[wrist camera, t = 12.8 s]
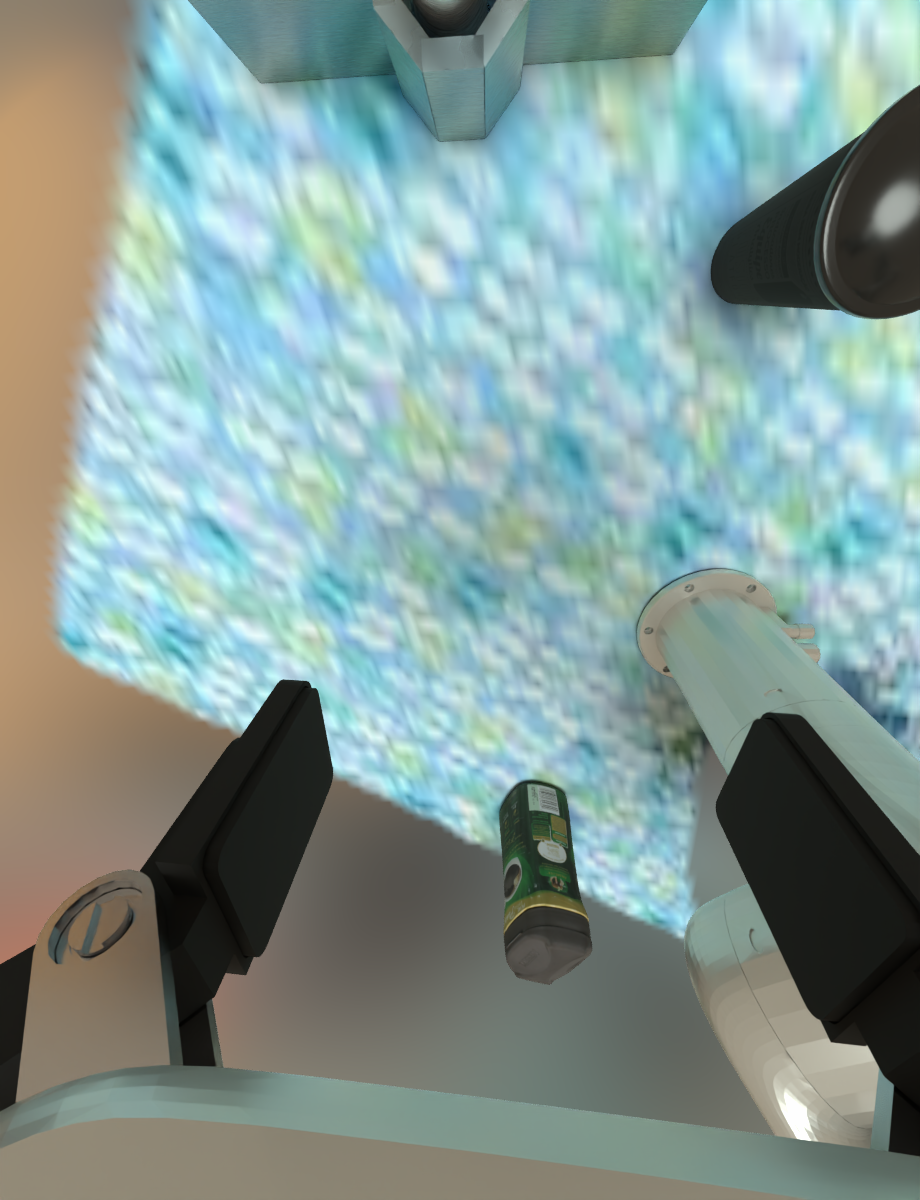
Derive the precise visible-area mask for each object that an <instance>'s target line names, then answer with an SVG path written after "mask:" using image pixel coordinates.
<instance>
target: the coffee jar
mask: <svg viewBox="0 0 920 1200" xmlns="http://www.w3.org/2000/svg"><path fill="white" fill-rule="evenodd" d="M499 818H500V833H501V845H502V858H503V874H504V891H505V916H504V943H505V952H506V960H507V963H508V965H509V967H510V968H511V969H512V971H513V972H514V973H515V975H516V976H517V977H518V978H522V979H525V980H529V981H534V982H538V983H543V984H548V985H550V984H551V983H552V982H553V981H554V980H556V979H558V978H560V977H562V976H564V975H565V974H567V973H569V972H570V971H571V970H573V969H574V968H575V967H576V966H578V965H579V964H580V963H581V962H582V961H583V960H585V959H586V958H587V957H588V956H589V955H590V954H591V952H592V942H591V937H590V929H589V920H588V916H587V913H586V911H585V908H584V906H583V903H582V901H581V896H580V892H579V887H578V881H577V874H576V867H575V860H574V852H573V845H572V836H571V826H570V818H569V810H568V804H567V799H566V796H565V795H564V794H563V793H562V792H561V791H560V790H558V789H556V788H554V787H552V786H550V785H547V784H543V783H523V784H521V785H519V786H517V787H516V788H515V789H514V790H513V791H512V793H511V794H510V795H509V796H508V798H507V799H506V801H505V802H504V804H503V806H502V808H501V810H500V814H499Z"/></svg>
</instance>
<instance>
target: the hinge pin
mask: <svg viewBox="0 0 920 1200" xmlns="http://www.w3.org/2000/svg"><path fill="white" fill-rule="evenodd" d="M412 1H413V6H414V10H415V14H416V19H417V22H418V23H419V25H420V26H421V27H422V29H423V30H424V31H425V33H426V34H427V35H428V37H429V38H441V37H455V36H468V35H475V34H476V33H477V31H478V29H479V28H480V26H481V25H482V23H483V21H484V20H485V18H486V17H487V15H488V7H487V0H412Z"/></svg>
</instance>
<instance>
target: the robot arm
mask: <svg viewBox="0 0 920 1200" xmlns="http://www.w3.org/2000/svg"><path fill="white" fill-rule="evenodd" d="M814 634H815V630H814V627H813V626H812V625H811V624H793V625H788V624H786V623H785V622H784V621H783V620H782V619H781V618H780V617H779V616H777V607H776V604H775V601H774V598H773V597H772V595H771V594H770V592H769V591H768V589H767V588H765V587H764V586H763V585H762V584H761V583H760V582H759V581H757V580H756V579H754V578H753V577H751V576H750V575H747V574H744V573H742V572H739V571H733V570H728V569H712V570H706V571H700V572H697V573H693V574H690V575H687V576H685V577H683V578H680V579H678V580H676V581H674V582H673V583H671V584H670V585H668V586H667V587H665V588H664V589H662V590H661V591H660V592H659V593H658V594H657V595H656V596H655V597H654V598H652V600H651V601H650V602H649V604H648V605H647V606H646V608H645V609H644V611H643V613H642V615H641V617H640V620H639V623H638V627H637V641H638V646H639V648H640V651H641V653H642V655H643V657H644V658H645V660H646V661H647V663H648V664H649V665H650V666H651V667H652V668H654V669H655V670H656V671H658V672H659V673H661V674H663V675H665V676H668V677H671V678H674V679H675V681H676V683H677V685H678V686H679V688H680V690H681V692H682V694H683V695H684V697H685V699H686V701H687V703H688V704H689V706H690V708H691V710H692V712H693V713H694V715H695V717H696V719H697V721H698V722H699V724H700V726H701V728H702V730H703V731H704V733H705V735H706V737H707V739H708V740H709V742H710V744H711V746H712V748H713V749H714V751H715V753H716V755H717V757H718V758H719V760H720V762H721V764H722V766H723V767H724V769H725V771H726V773H727V775H728V777H727V779H726V782H725V784H724V786H723V788H722V790H721V792H720V794H719V796H718V799H717V801H716V813H717V817H718V819H719V822H720V824H721V826H722V828H723V830H724V832H725V834H726V837H727V839H728V841H729V843H730V845H731V847H732V849H733V852H734V854H735V856H736V858H737V860H738V862H739V864H740V866H741V869H742V871H743V873H744V875H745V877H746V879H747V881H748V884H746V885H744V886H741V887H739V888H737V889H734V890H732V891H730V892H728V893H726V894H724V895H721V896H719V897H717V898H715V899H713V900H711V901H709V902H708V903H706V904H704V905H703V906H701V907H700V908H699V909H698V910H697V911H696V912H695V913H694V914H693V915H692V917H691V918H690V920H689V921H688V924H687V927H686V930H685V936H684V951H685V957H686V963H687V967H688V971H689V975H690V978H691V981H692V984H693V987H694V990H695V992H696V994H697V997H698V999H699V1002H700V1004H701V1007H702V1009H703V1011H704V1013H705V1015H706V1017H707V1018H708V1021H709V1023H710V1025H711V1027H712V1029H713V1031H714V1033H715V1035H716V1037H717V1039H718V1040H719V1042H720V1044H721V1046H722V1048H723V1049H724V1051H725V1053H726V1055H727V1056H728V1058H729V1060H730V1062H731V1063H732V1065H733V1067H734V1068H735V1070H736V1072H737V1073H738V1075H739V1077H740V1078H741V1080H742V1082H743V1083H744V1085H745V1087H746V1088H747V1090H748V1092H749V1093H750V1095H751V1097H752V1098H753V1100H754V1101H755V1103H756V1104H757V1106H758V1108H759V1110H760V1111H761V1113H762V1115H763V1116H764V1118H765V1119H766V1121H767V1123H768V1124H769V1126H770V1127H771V1129H772V1131H773V1132H774V1134H775V1136H772V1135H764V1134H757V1133H750V1132H741V1131H735V1130H727V1129H720V1128H712V1127H705V1126H697V1125H690V1124H682V1123H675V1122H666V1121H659V1120H652V1119H644V1118H636V1117H629V1116H621V1115H613V1114H605V1113H598V1112H590V1111H583V1110H575V1109H567V1108H559V1107H552V1106H543V1105H536V1104H528V1103H521V1102H513V1101H505V1100H497V1099H489V1098H481V1097H474V1096H465V1095H458V1094H450V1093H442V1092H433V1091H426V1090H418V1089H410V1088H401V1087H393V1086H385V1085H377V1084H368V1083H361V1082H353V1081H345V1080H337V1079H329V1078H321V1077H311V1076H302V1075H292V1074H282V1073H272V1072H263V1071H252V1070H243V1069H232V1068H224V1067H223V1061H222V1055H221V1049H220V1043H219V1037H218V1031H217V1025H216V1019H215V1013H214V1007H213V1001H212V998H214V997H215V995H216V993H217V990H218V988H219V986H220V984H221V982H222V979H223V977H224V975H225V973H231V974H239V975H246V974H247V972H248V969H249V967H250V964H251V962H252V960H253V957H259V956H261V954H262V953H263V952H264V950H265V949H266V946H267V944H268V942H269V939H270V937H271V934H272V932H273V929H274V927H275V924H276V922H277V919H278V917H279V914H280V912H281V909H282V907H283V904H284V902H285V899H286V897H287V894H288V892H289V889H290V887H291V884H292V882H293V879H294V876H295V874H296V872H297V869H298V867H299V864H300V862H301V859H302V857H303V854H304V852H305V849H306V847H307V844H308V842H309V839H310V837H311V834H312V831H313V829H314V827H315V824H316V821H317V819H318V817H319V814H320V812H321V809H322V807H323V804H324V802H325V799H326V796H327V794H328V792H329V789H330V786H331V783H332V779H333V767H332V762H331V756H330V751H329V746H328V741H327V735H326V730H325V725H324V719H323V714H322V709H321V704H320V698H319V693H318V690H317V689H316V688H311V685H310V683H309V682H308V681H298V680H281V681H279V683H278V684H277V685H276V686H275V688H274V689H273V691H272V692H271V694H270V695H269V697H268V698H267V700H266V701H265V702H264V704H263V705H262V707H261V708H260V710H259V711H258V713H257V714H256V715H255V717H254V718H253V720H252V721H251V723H250V724H249V726H248V727H247V729H246V730H245V731H244V733H243V734H242V736H241V737H240V738H237V739H235V740H234V741H232V742H231V743H230V745H229V746H228V747H227V748H226V750H225V751H224V752H223V754H222V755H221V757H220V758H219V759H218V761H217V762H216V764H215V765H214V767H213V768H212V770H211V771H210V772H209V774H208V775H207V776H206V778H205V779H204V781H203V782H202V784H201V785H200V786H199V788H198V789H197V791H196V792H195V794H194V795H193V796H192V798H191V799H190V801H189V802H188V804H187V805H186V806H185V808H184V809H183V811H182V812H181V813H180V815H179V816H178V818H177V819H176V820H175V822H174V823H173V825H172V826H171V828H170V829H169V830H168V832H167V833H166V835H165V836H164V837H163V839H162V840H161V842H160V843H159V845H158V846H157V847H156V849H155V850H154V852H153V853H152V855H151V856H150V858H149V859H148V860H147V862H146V863H145V865H144V866H143V867H142V869H141V870H140V871H134V870H122V871H115V872H112V873H109V874H106V875H104V876H102V877H98V878H97V879H95V880H93V881H91V882H90V883H88V884H86V885H85V886H83V887H81V888H80V889H79V890H77V891H76V892H75V893H74V894H72V895H71V896H70V897H69V898H68V899H66V900H65V901H64V902H63V903H62V904H61V905H60V906H59V907H58V909H57V910H56V911H55V912H54V913H53V914H52V915H51V916H50V918H49V919H48V921H47V922H46V924H45V926H44V927H43V929H42V931H41V932H40V934H39V936H38V939H37V942H36V944H35V945H33V946H32V947H30V948H28V949H26V950H25V951H23V952H21V953H19V954H18V955H16V956H14V957H13V958H11V959H9V960H7V961H5V962H4V963H2V964H0V1200H920V761H918V760H917V759H916V758H915V757H914V756H913V755H912V754H911V753H910V752H909V751H908V750H906V749H905V748H904V747H903V746H902V745H901V744H900V743H899V742H898V741H897V740H895V739H894V738H893V737H892V736H891V735H890V734H889V733H888V732H887V731H886V730H885V729H884V728H883V727H882V726H881V725H880V724H879V723H878V722H877V721H876V720H875V719H874V718H873V717H872V716H871V715H870V714H868V713H867V712H866V711H865V710H864V709H863V708H862V707H861V706H860V705H859V704H858V703H857V702H856V701H855V700H854V699H853V698H852V697H851V696H850V695H849V694H848V693H847V692H846V691H845V690H844V689H843V688H842V687H841V686H840V685H839V684H838V683H837V682H836V681H834V680H833V679H832V678H831V677H830V676H829V675H828V674H827V673H826V672H825V671H824V670H823V669H822V668H821V667H820V666H819V665H818V664H817V662H818V661H819V659H820V651H819V648H818V647H817V645H815V644H813V643H795V642H794V641H793V640H792V639H791V638H795V639H811V638H813V637H814Z"/></svg>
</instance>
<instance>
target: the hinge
mask: <svg viewBox="0 0 920 1200" xmlns="http://www.w3.org/2000/svg"><path fill="white" fill-rule="evenodd" d="M188 1H189V2H190V3H191V4H192V5H193V7H194V8H195V9H196V10H197V11H198V12H199V14H200V15H201V16H202V17H203V18H204V19H205V20H206V22H207V23H208V24H209V25H210V26H211V27H212V28H213V30H214V31H215V32H216V33H217V34H218V35H219V36H220V38H221V39H222V40H223V41H224V42H225V43H226V44H227V46H228V47H229V48H230V49H231V50H232V51H233V52H234V54H235V55H236V56H237V57H238V58H239V59H240V60H241V62H242V63H243V64H244V65H245V66H246V67H247V68H248V70H249V71H250V72H251V73H252V74H253V75H254V76H255V78H256V79H257V80H258V81H259V82H260V83H272V82H287V81H301V80H315V79H329V78H343V77H358V76H372V75H386V74H396V75H397V78H398V81H399V84H400V87H401V90H402V93H403V96H404V98H405V99H406V100H407V101H408V103H409V104H410V105H411V107H412V108H413V109H414V110H415V112H416V113H417V114H418V115H419V117H420V118H421V119H422V121H423V122H424V123H425V124H426V126H427V127H428V128H429V129H430V131H431V132H432V133H433V135H434V136H435V137H436V138H437V140H438V141H455V140H472V139H485V138H486V137H487V135H488V134H489V133H490V131H491V130H492V128H493V127H494V125H495V124H496V122H497V121H498V119H499V118H500V117H501V115H502V114H503V112H504V111H505V109H506V108H507V106H508V105H509V103H510V102H511V101H512V99H513V98H514V96H515V95H516V93H517V92H518V90H519V89H520V82H521V74H522V66H523V65H528V64H542V63H556V62H571V61H585V60H599V59H613V58H627V57H642V56H656V55H670V54H673V53H674V52H675V50H676V49H677V47H678V46H679V44H680V43H681V41H682V39H683V38H684V36H685V35H686V33H687V32H688V30H689V28H690V27H691V25H692V24H693V22H694V21H695V19H696V17H697V16H698V14H699V13H700V11H701V10H702V8H703V7H704V5H705V3H706V2H707V0H487V2H488V4H489V5H490V7H491V10H490V12H489V13H488V15H487V17H486V18H485V20H484V21H483V23H482V25H481V26H480V28H479V29H478V31H477V33H476V34H475V35H468V36H455V37H441V38H429V37H428V35H427V34H426V33H425V31H424V30H423V29H422V27H421V26H420V25H419V23H418V22H417V19H416V14H415V10H414V6H413V1H412V0H188Z"/></svg>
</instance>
